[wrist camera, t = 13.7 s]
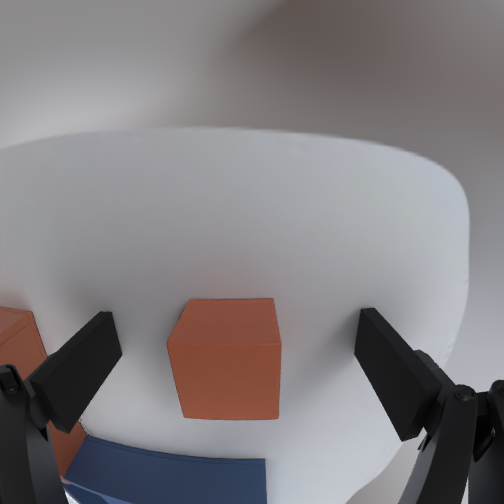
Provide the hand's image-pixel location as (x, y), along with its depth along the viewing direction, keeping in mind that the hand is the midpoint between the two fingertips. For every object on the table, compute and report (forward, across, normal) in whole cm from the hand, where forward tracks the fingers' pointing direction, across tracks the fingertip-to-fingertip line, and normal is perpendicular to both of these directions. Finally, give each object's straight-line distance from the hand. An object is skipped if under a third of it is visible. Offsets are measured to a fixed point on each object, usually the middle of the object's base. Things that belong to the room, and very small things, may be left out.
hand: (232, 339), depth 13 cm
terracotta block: (0, 0, 0) cm, 0 cm away
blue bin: (0, -7, -20) cm, 21 cm away
